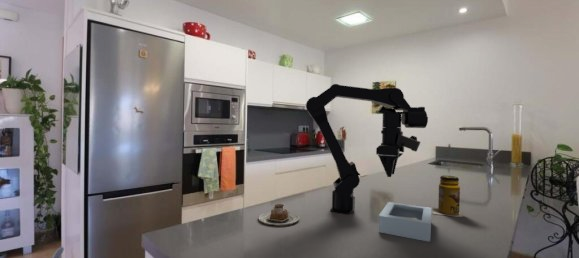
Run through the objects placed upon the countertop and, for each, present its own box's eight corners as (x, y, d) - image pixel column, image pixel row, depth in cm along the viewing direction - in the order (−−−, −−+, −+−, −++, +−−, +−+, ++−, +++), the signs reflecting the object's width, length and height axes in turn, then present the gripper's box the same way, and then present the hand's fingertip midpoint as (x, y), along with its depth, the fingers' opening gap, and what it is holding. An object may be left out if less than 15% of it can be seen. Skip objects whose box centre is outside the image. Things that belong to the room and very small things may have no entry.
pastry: (307, 220, 82) (307, 204, 82) (282, 231, 72) (283, 214, 72) (275, 212, 89) (275, 198, 89) (249, 222, 79) (249, 206, 79)
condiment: (463, 217, 86) (464, 179, 86) (433, 214, 89) (434, 177, 89) (456, 211, 93) (457, 175, 93) (429, 208, 96) (429, 173, 96)
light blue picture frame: (378, 232, 72) (378, 215, 72) (388, 215, 86) (388, 201, 86) (430, 241, 66) (430, 223, 66) (431, 222, 80) (431, 207, 80)
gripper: (417, 127, 78) (416, 182, 77) (420, 128, 94) (419, 174, 94) (376, 127, 83) (375, 178, 83) (386, 127, 99) (385, 171, 99)
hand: (390, 175), depth 90 cm, fingers open, 6 cm apart
